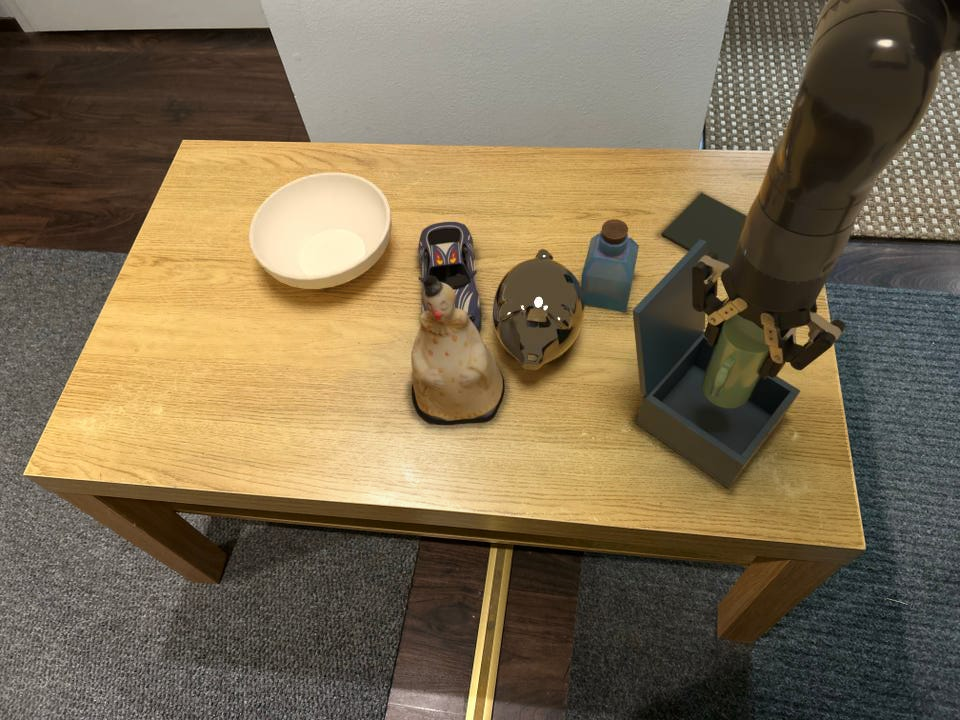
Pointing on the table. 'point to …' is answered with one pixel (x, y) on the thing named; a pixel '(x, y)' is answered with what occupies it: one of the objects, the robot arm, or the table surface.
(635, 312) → the lid
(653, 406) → the box
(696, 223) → the mat
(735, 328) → the pale green cylinder
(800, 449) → the table surface
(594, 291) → the perfume bottle
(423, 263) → the toy car
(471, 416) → the figurine
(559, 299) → the piggy bank
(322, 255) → the bowl
